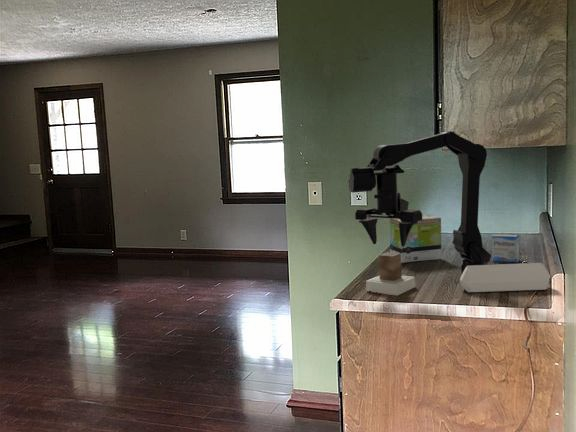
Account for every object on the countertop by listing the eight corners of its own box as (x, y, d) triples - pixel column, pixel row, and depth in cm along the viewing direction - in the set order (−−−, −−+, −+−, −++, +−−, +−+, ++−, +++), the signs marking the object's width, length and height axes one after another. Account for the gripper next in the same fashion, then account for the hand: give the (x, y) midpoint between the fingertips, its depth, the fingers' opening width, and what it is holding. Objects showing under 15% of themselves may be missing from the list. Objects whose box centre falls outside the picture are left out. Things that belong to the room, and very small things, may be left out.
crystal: (463, 282, 159) (557, 278, 157) (459, 264, 165) (549, 260, 162) (461, 301, 163) (552, 298, 161) (456, 283, 169) (544, 280, 167)
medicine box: (491, 261, 197) (491, 236, 196) (494, 259, 201) (493, 233, 199) (517, 263, 193) (517, 236, 192) (519, 260, 197) (518, 234, 196)
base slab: (415, 287, 171) (414, 276, 171) (397, 295, 163) (396, 284, 163) (384, 283, 177) (384, 272, 177) (366, 291, 170) (365, 280, 169)
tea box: (402, 264, 201) (401, 220, 199) (389, 258, 211) (388, 217, 209) (442, 259, 205) (441, 216, 203) (428, 254, 215) (427, 213, 213)
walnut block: (401, 277, 170) (400, 253, 169) (393, 281, 167) (392, 256, 166) (387, 275, 173) (386, 252, 172) (379, 279, 170) (378, 255, 169)
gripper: (431, 187, 167) (432, 242, 169) (373, 186, 179) (375, 238, 181) (411, 191, 158) (413, 249, 160) (352, 190, 170) (355, 244, 172)
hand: (388, 245), depth 169 cm, fingers open, 9 cm apart
